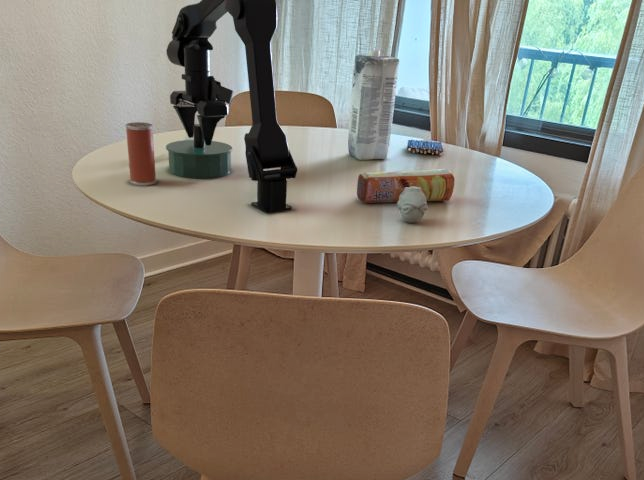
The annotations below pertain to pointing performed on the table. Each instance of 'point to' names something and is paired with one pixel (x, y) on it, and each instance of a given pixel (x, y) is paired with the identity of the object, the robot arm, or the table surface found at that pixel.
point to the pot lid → (198, 146)
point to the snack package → (404, 185)
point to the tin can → (141, 153)
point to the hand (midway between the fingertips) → (199, 141)
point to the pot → (199, 166)
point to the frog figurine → (412, 204)
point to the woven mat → (425, 146)
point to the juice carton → (372, 105)
